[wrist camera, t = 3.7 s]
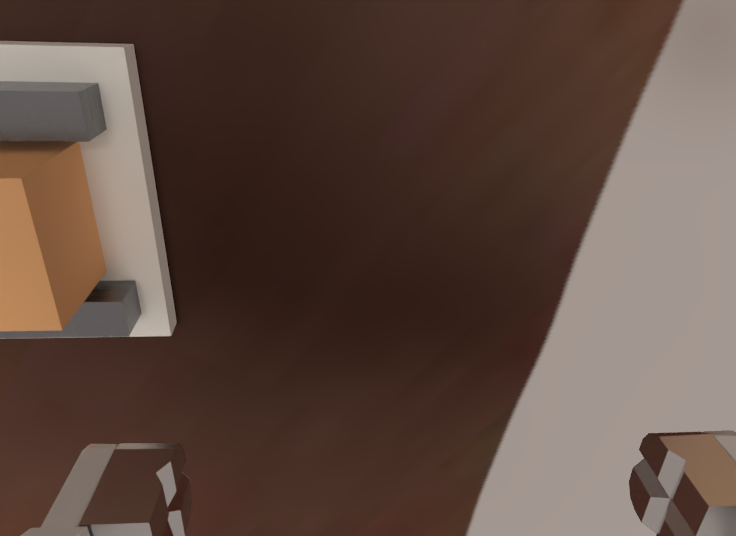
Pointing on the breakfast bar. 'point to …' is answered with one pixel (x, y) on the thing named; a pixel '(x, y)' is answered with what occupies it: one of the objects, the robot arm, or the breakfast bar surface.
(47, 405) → the breakfast bar surface
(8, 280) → the orange block
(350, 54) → the breakfast bar surface
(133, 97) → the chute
